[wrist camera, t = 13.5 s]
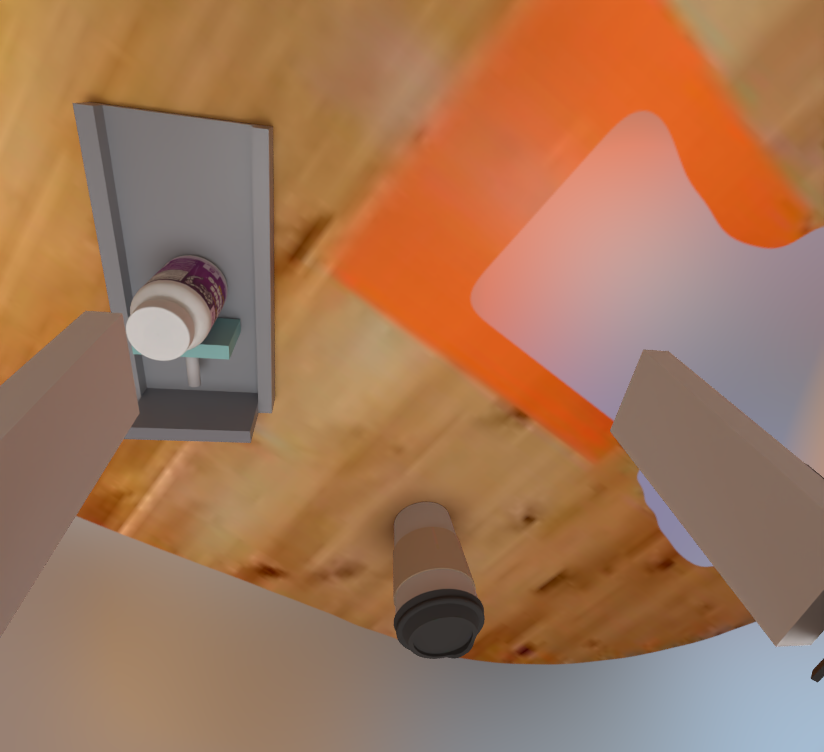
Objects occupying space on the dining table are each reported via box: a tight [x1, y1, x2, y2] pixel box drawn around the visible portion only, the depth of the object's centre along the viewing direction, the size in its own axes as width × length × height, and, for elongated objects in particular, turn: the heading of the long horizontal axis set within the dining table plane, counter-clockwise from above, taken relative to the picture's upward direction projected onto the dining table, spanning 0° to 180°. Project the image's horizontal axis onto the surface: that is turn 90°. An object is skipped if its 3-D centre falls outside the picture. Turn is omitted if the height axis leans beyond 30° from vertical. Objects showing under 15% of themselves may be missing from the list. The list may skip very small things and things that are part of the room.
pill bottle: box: [126, 255, 228, 361], centre depth 36 cm, size 5×5×10 cm
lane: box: [73, 102, 275, 443], centre depth 38 cm, size 24×12×7 cm, turn 172°
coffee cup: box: [393, 502, 484, 659], centre depth 53 cm, size 9×9×15 cm
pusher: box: [132, 318, 241, 387], centre depth 41 cm, size 5×7×5 cm
